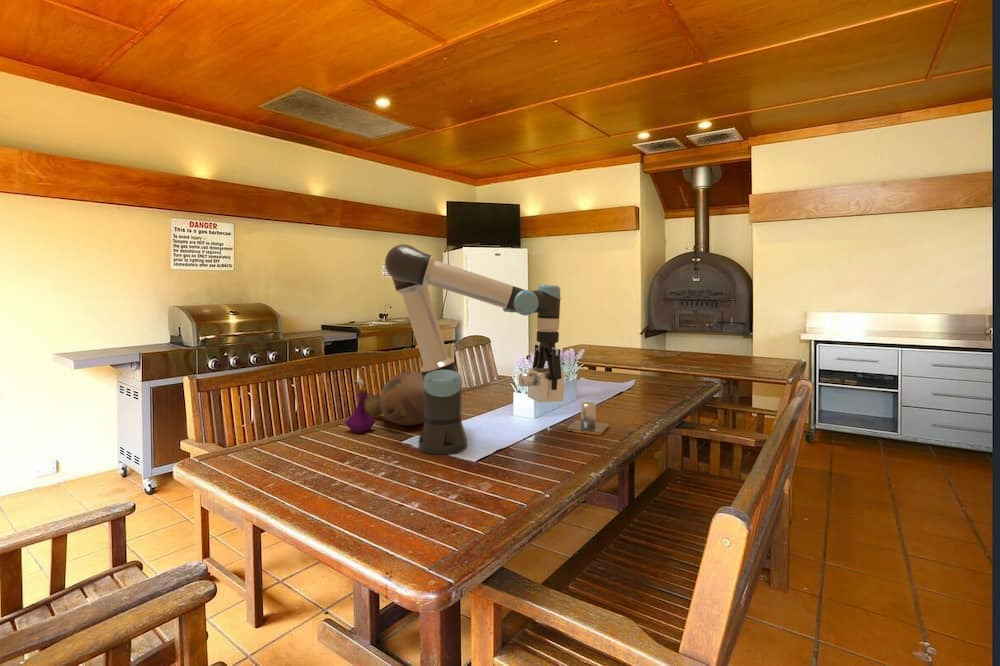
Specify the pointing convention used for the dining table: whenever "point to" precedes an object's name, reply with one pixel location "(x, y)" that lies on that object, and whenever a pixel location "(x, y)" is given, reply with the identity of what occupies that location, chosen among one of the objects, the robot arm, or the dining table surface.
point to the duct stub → (588, 419)
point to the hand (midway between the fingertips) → (545, 395)
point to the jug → (400, 400)
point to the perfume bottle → (360, 413)
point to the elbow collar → (541, 384)
